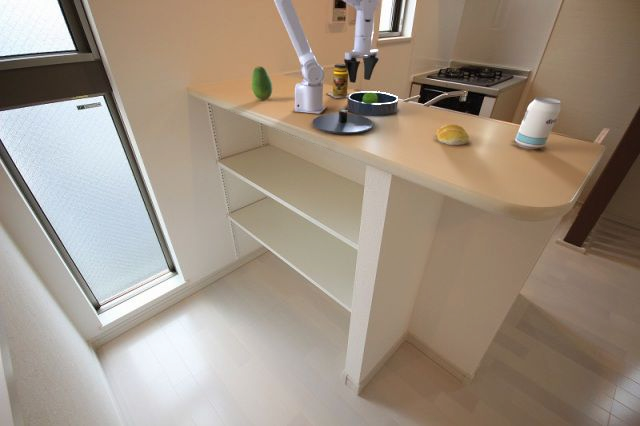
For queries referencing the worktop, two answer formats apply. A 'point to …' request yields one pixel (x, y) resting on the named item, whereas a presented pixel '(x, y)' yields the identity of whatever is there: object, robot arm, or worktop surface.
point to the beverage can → (538, 123)
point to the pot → (382, 108)
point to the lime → (370, 98)
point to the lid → (342, 123)
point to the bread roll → (452, 135)
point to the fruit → (261, 83)
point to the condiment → (340, 81)
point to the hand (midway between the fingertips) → (359, 80)
